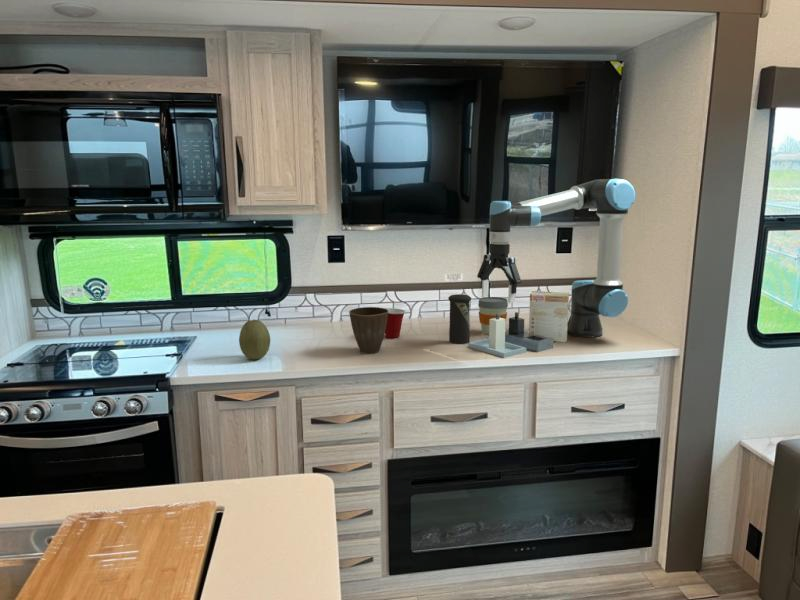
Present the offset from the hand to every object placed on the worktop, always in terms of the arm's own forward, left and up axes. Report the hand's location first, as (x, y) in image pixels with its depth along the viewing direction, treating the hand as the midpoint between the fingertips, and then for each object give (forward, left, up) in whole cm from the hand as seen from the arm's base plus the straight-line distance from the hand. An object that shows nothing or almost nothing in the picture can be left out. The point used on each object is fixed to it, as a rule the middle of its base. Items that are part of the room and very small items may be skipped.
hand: (498, 299), depth 224 cm
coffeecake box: (-30, 0, -21) cm, 37 cm away
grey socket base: (-14, +2, -20) cm, 25 cm away
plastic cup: (+18, -43, -21) cm, 51 cm away
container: (+3, -18, -21) cm, 28 cm away
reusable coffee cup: (-19, -21, -21) cm, 35 cm away
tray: (0, 0, -20) cm, 20 cm away
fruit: (+77, -49, -21) cm, 94 cm away
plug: (0, 0, -20) cm, 20 cm away
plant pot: (+38, -31, -21) cm, 53 cm away
